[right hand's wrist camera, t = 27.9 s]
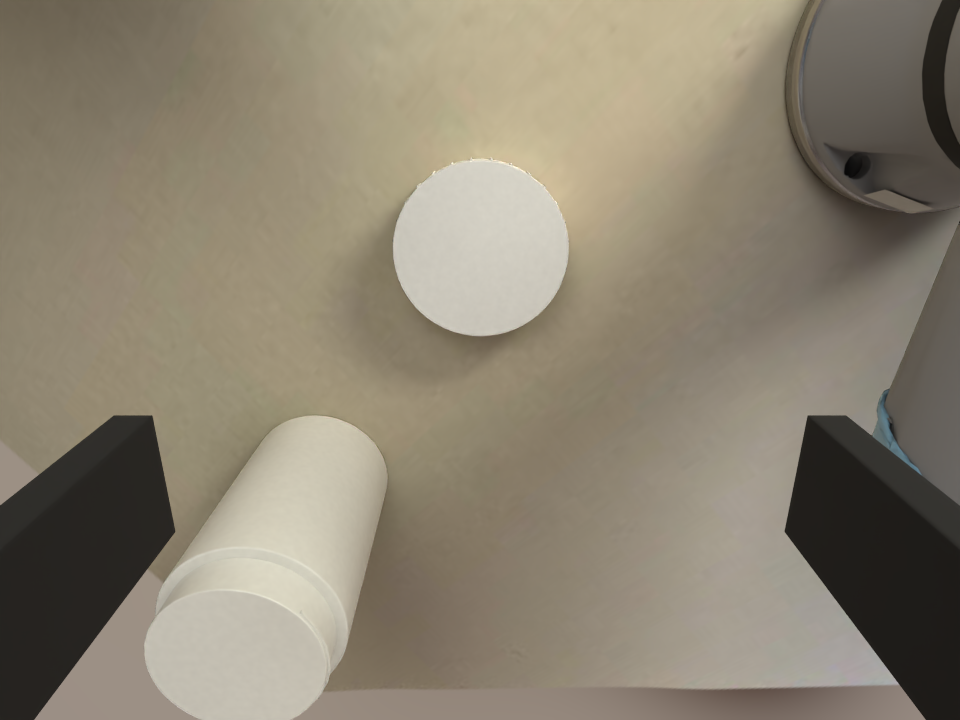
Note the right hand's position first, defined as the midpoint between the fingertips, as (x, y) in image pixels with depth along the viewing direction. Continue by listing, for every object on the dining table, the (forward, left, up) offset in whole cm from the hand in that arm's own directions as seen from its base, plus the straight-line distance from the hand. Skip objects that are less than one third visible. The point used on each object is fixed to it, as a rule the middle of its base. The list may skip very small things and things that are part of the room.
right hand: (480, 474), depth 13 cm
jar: (+14, -12, -26) cm, 32 cm away
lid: (0, 0, -24) cm, 24 cm away
